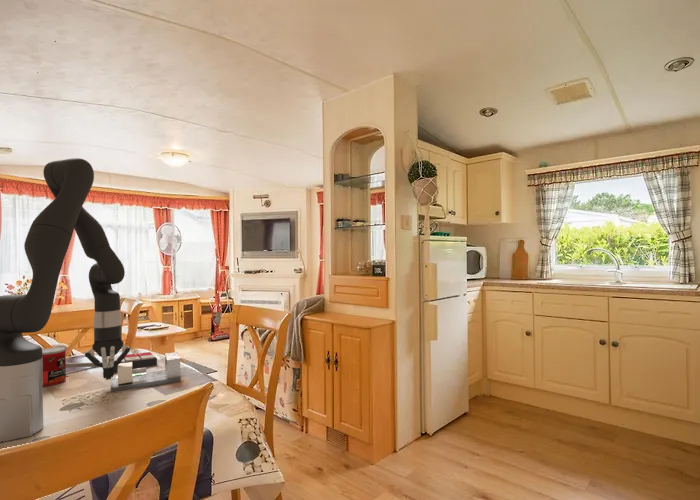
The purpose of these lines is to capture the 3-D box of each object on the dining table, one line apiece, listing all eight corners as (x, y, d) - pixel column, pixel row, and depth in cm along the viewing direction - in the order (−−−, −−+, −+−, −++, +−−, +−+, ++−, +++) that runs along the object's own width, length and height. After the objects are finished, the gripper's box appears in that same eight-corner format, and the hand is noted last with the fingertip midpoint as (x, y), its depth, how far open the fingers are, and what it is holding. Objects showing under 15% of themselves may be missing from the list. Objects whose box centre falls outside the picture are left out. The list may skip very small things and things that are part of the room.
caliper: (40, 378, 138) (40, 360, 138) (40, 378, 139) (39, 360, 139) (106, 365, 153) (106, 349, 153) (105, 365, 154) (105, 348, 154)
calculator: (157, 356, 152) (112, 361, 142) (157, 367, 151) (111, 373, 142) (151, 351, 160) (108, 355, 151) (150, 361, 160) (107, 367, 151)
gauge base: (180, 381, 131) (180, 359, 131) (110, 392, 121) (110, 368, 121) (177, 372, 142) (177, 351, 142) (112, 382, 132) (112, 359, 132)
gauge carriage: (146, 379, 128) (146, 364, 128) (117, 384, 124) (117, 368, 124) (145, 371, 137) (145, 357, 137) (119, 375, 133) (118, 360, 133)
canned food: (51, 386, 128) (50, 353, 128) (31, 385, 130) (30, 352, 130) (72, 379, 136) (71, 347, 136) (52, 378, 137) (52, 346, 137)
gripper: (81, 328, 119) (82, 386, 119) (131, 324, 126) (132, 378, 126) (84, 325, 126) (84, 379, 126) (131, 320, 132) (132, 372, 132)
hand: (108, 378), depth 126 cm, fingers closed
